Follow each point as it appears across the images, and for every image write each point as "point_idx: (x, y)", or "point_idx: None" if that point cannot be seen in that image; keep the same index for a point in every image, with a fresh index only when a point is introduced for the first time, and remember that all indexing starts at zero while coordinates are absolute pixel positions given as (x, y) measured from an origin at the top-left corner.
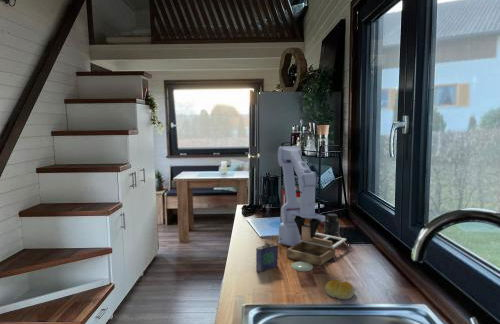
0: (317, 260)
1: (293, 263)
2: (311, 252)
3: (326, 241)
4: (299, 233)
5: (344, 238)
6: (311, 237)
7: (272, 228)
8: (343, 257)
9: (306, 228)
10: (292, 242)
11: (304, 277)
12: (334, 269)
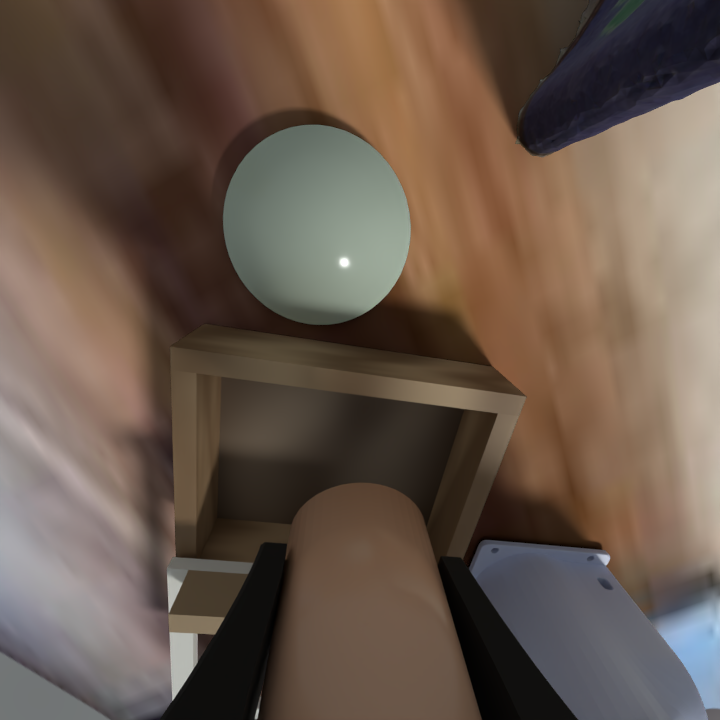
0: (215, 339)
1: (403, 246)
2: None
3: (218, 611)
4: (474, 580)
5: None
6: (274, 547)
7: None
8: (150, 530)
9: (344, 708)
10: (516, 571)
11: (214, 13)
12: (90, 323)
